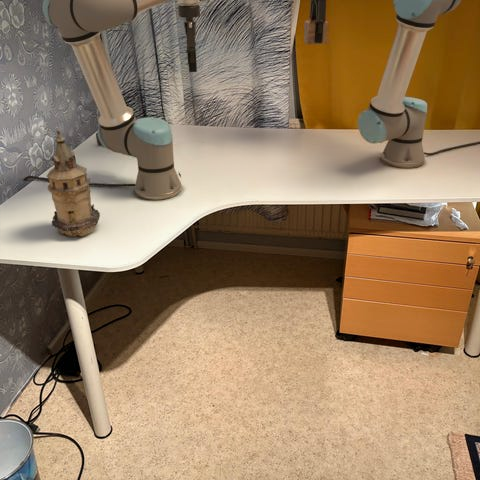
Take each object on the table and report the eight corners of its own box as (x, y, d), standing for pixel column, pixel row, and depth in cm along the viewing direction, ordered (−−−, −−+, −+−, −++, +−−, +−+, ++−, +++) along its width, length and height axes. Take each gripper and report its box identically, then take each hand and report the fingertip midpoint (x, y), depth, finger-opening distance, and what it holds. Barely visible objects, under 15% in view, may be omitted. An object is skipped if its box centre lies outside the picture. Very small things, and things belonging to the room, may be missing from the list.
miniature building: (80, 214, 164) (63, 117, 149) (111, 225, 157) (96, 125, 142) (44, 231, 154) (22, 130, 140) (75, 244, 147) (55, 139, 133)
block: (327, 43, 198) (328, 22, 194) (307, 44, 197) (308, 23, 194) (323, 40, 204) (324, 20, 200) (303, 41, 203) (304, 20, 199)
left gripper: (201, 8, 174) (204, 75, 184) (198, 0, 195) (201, 60, 206) (178, 8, 173) (182, 75, 184) (177, 1, 195) (181, 61, 205)
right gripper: (337, -27, 181) (332, 45, 192) (323, -30, 197) (319, 36, 209) (316, -26, 180) (312, 46, 191) (303, -30, 197) (300, 37, 208)
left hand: (192, 67), depth 195 cm, fingers open, 13 cm apart
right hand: (316, 41), depth 200 cm, fingers closed on block, 7 cm apart
